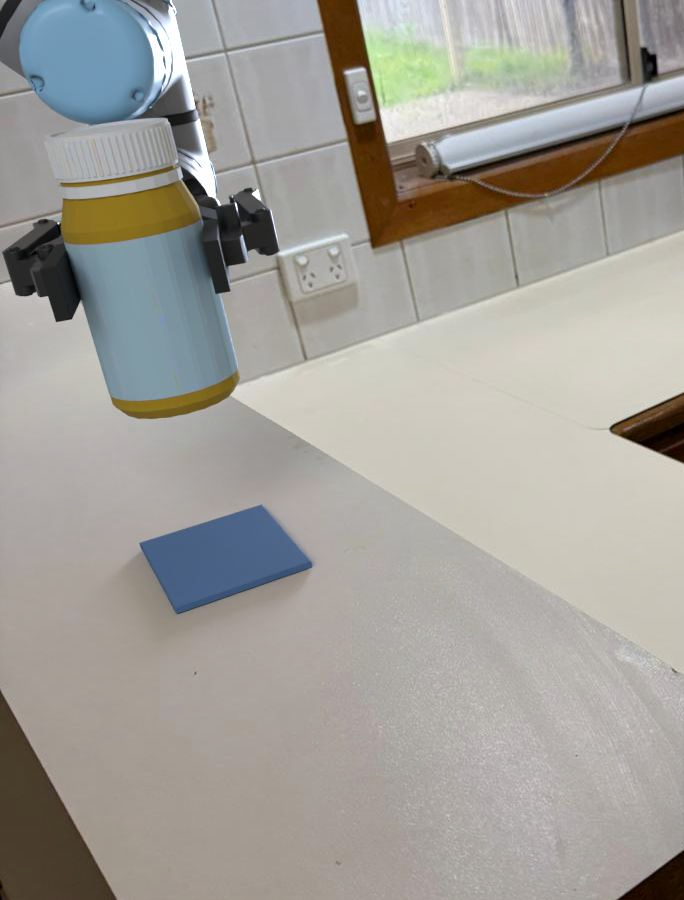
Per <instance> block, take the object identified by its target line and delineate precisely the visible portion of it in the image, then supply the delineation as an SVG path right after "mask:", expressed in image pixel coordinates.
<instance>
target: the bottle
mask: <svg viewBox="0 0 684 900" xmlns="http://www.w3.org/2000/svg"><path fill="white" fill-rule="evenodd" d="M43 140H44V141H43V144H44V148H45V150H46V154H47V157H48V161H49V165H50V169H51V171H52V175H53V178H55V180H56V182H57V183H58V184H57V188H58V191H59V195H60V198H61V199H62V206H61V220H60V221H61V231H62V235H63V238H64V244H65V247H66V251H67V254H68V257H69V261H70V264H71V267H72V271H73V274H74V278H75V281H76V284H77V288H78V291H79V294H80V298H81V301H80V302H81V304H82V308H83V311H84V314H85V317H86V321H87V325H88V328H89V332H90V334H91V338H92V341H93V345H94V348H95V351H96V355H97V358H98V361H99V365H100V368H101V372H102V375H103V379H104V382H105V385H106V389H107V391H108V395H109V396H110V400H111V403H112V405H113V407H115V408H116V410H117V409H118V411H120V412H122V413H123V414H125V415H127V416H128V417H130V418H135V419H138V420H157V419H168V418H173V417H178V416H183V415H188V414H192V413H194V412H198V411H202V410H205V409H207V408H210V407H212V406H214V405H217V404H219V403H221V402H222V401H224V400H226V399H228V398H229V397H230V396H231V395H232V394H233V393H234V391H235V389H236V387H237V386H238V384H239V382H240V380H241V373H240V369H239V363H238V357H237V354H236V350H235V345H234V343H233V338H232V334H231V330H230V325H229V321H228V316H227V313H226V309H225V305H224V302H223V298H222V297H223V296H222V293H219V294H215V290H214V286H213V282H212V278H211V274H210V270H209V266H208V262H207V258H206V254H205V249H204V245H203V226H204V224H203V220H202V216H201V214H200V210H199V206H198V204H197V202H196V201H195V199H194V198H193V196H192V195H191V193H190V191H189V190H188V188H187V187H186V185H185V184H184V182H183V180H182V178H183V175H182V171H181V167H180V166H179V165H177V164H176V163H178V153H177V149H176V145H175V141H174V137H173V133H172V129H171V125H170V123H169V122H168V119H167V118H146V119H135V120H126V121H118V122H111V123H104V124H97V125H86V126H85V125H84V126H80V127H74V128H70V129H64V130H60V131H56V132H52V133H49V134H46V135H44V136H43Z"/></svg>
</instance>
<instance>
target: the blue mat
mask: <svg viewBox="0 0 684 900" xmlns="http://www.w3.org/2000/svg"><path fill="white" fill-rule="evenodd" d="M139 547H140V550H141V552H142V553H143V556H144V557H145V559H146V560H147V563H148V564H149V566H150V568H151V571H152V572H153V574H154V575H155V578H156V579H157V581H158V583H159V584H160V587H161V588H162V590H163V592H164V594H165V596H166V598H167V599H168V601H169V603H170V605H171V606H172V609H173V610H174V612H175V614H176V615H178V614H181V613H184V612H186V611H190V610H193V609H195V608H198V607H201V606H205V605H206V604H209V603H213V602H215V601H216V602H217V601H219V600H221V599H224V598H227V597H229V596H234V595H235V594H238V593H241V592H244V591H247V590H249V589H253V588H256V587H259V586H261V585H264V584H267V583H271V582H273V581H275V580H279V579H281V578H285V577H287V576H291V575H294V574H296V573H298V572H302V571H305V570H308V569H310V568H313V565H312V561H311V559H309V557H308V556H307V555H306V554H305V553H304V552H303V551H302V549H301V548H300V547H299V546H298V544H297V543H296V542H295V541H294V540H293V539H292V538H291V536H290V535H289V534H288V533H287V532H286V530H285V529H284V528H283V527H282V526H281V525H280V524H279V523H278V521H277V520H276V519H275V517H273V516H272V515H271V513H270V512H269V511H268V510H267V508H266V507H265V506H264V505H263V504H259V505H255V506H252V507H249V508H246V509H242V510H239V511H235V512H233V513H230V514H226V515H224V516H220V517H218V518H214V519H211V520H208V521H204V522H201V523H198V524H195V525H192V526H189V527H185V528H181V529H179V530H176V531H173V532H170V533H166V534H163V535H161V536H157V537H154V538H150V539H147V540H143V541H141V542H139Z"/></svg>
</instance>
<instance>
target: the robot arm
mask: <svg viewBox="0 0 684 900" xmlns="http://www.w3.org/2000/svg"><path fill="white" fill-rule="evenodd" d="M176 17H177V10H176V7H175V4H173V1H172V0H0V63H2V64H3V65H5V66H6V67H7V68H8V69H11V70H12V71H13V72H15V73H17V74H18V75H19V76H21V77H22V78H24V79H25V80H26V81H27V82H28V85H29V87H30V88H31V89H32V91H33V92H34V94H35V95H36V96H37V97H38V98H39V100H41V102H42V103H43V104H44V105H46V106H47V107H48V108H49V109H50V110H52V111H54V112H55V113H56V114H57V115H59V116H61V117H64V118H66V119H68V120H69V121H72V122H76V123H79V124H84V125H88V126H91V125H97V124H104V123H111V122H118V121H126V120H135V119H146V118H167V119H168V122H169V123H170V125H171V129H172V133H173V137H174V141H175V145H176V149H177V153H178V163H176V164H177V165H179V166H180V167H181V171H182V175H183V178H182V180H183V182H184V184H185V185H186V187H187V188H188V190H189V191H190V193H191V195H192V196H193V198H194V199H195V201H196V202H197V204H198V206H199V210H200V214H201V216H202V220H203V224H204V226H203V245H204V249H205V254H206V258H207V262H208V266H209V270H210V274H211V278H212V282H213V286H214V290H215V294H219V293H221V294H224V293H230V292H231V291H232V290H231V277H230V275H231V274H230V266H231V267H232V266H238V265H242V264H243V265H244V264H246V263H248V262H249V257H250V256H249V253H248V252H250V251H252V250H255V251H256V253H257V254H258V255H261V256H266V257H271V256H273V255H276V254H278V253H279V252H280V251H281V249H280V243H279V239H278V234H277V231H276V227H275V222H274V218H273V214H272V209H271V208H270V207H269V206H268V205H267V204H265V202H263V201H261V196H260V192H259V189H258V188H253V187H246V188H243V190H240V191H238V192H237V193H232V194H228V195H227V199H228V203H226V204H221V203H220V201H219V200H218V199H217V198H216V196H217V194H218V183H217V177H216V174H215V169H214V167H213V163H212V161H211V160H210V157H209V155H208V149H207V146H206V141H205V137H204V133H203V128H202V125H201V119H200V118H199V117H200V116H199V113H198V109H197V108H196V104H195V100H194V99H195V98H194V95H193V91H192V86H191V81H190V76H189V72H188V68H187V63H186V59H185V54H184V49H183V45H182V40H181V36H180V31H179V26H178V23H177V18H176ZM32 227H33V229H31V230H30V231H29V232H27V233H26V234H24V235H22V236H21V237H20V238H19V239H17V240H16V241H15V242H14V243H12V244H11V245H9V246H7V247H6V248H5V249H4V250H2V251H1V254H2V257H3V260H4V264H5V266H6V270H7V272H8V275H9V279H10V282H11V285H12V288H13V292H14V294H15V296H17V297H31V296H33V295H34V294H35V293H36V295H37V297H39V298H45V297H47V298H48V301H49V304H50V308H51V310H52V313H53V317H54V321H55V323H60V322H65V321H66V322H67V321H72V320H73V319H74V315H75V314H76V312H77V310H78V307H79V305H80V303H81V302H82V301H81V298H80V294H79V291H78V288H77V284H76V281H75V278H74V274H73V271H72V267H71V264H70V261H69V257H68V254H67V251H66V247H65V244H64V238H63V235H62V231H61V220H57V221H55V220H54V219H49V218H41V219H38V220H37V221H36V222H33V223H32Z"/></svg>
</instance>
